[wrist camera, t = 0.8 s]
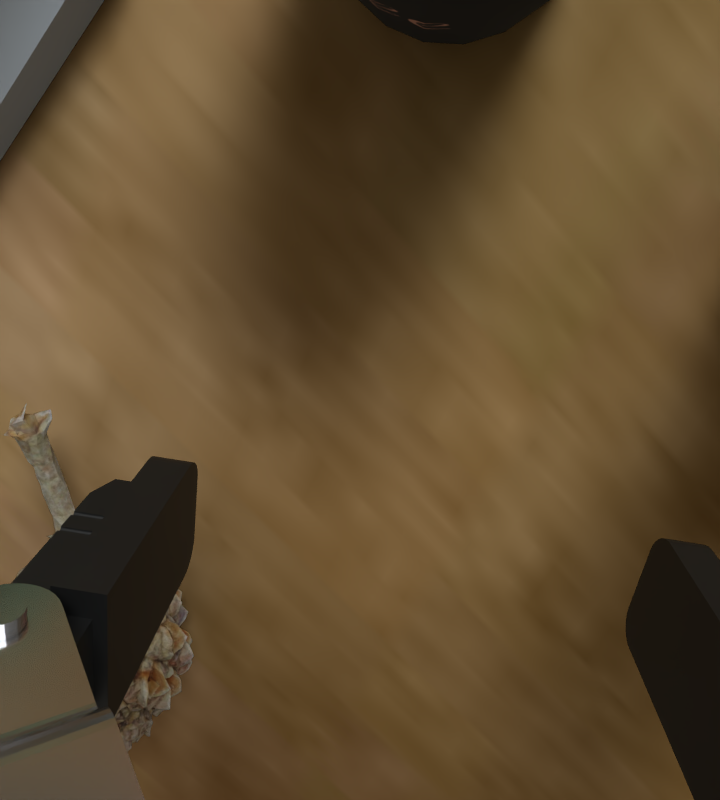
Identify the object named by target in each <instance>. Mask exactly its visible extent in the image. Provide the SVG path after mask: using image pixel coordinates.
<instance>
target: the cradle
mask: <svg viewBox="0 0 720 800" xmlns="http://www.w3.org/2000/svg"><path fill="white" fill-rule="evenodd" d="M103 1H104V0H0V161H1V159H2V157H3V156H4V154H5V153H6V151H7V150H8V148H9V147H10V145H11V144H12V142H13V140H14V139H15V137H16V136H17V134H18V133H19V131H20V130H21V128H22V127H23V125H24V123H25V122H26V120H27V119H28V117H29V116H30V114H31V113H32V111H33V110H34V108H35V106H36V105H37V103H38V102H39V100H40V99H41V97H42V96H43V94H44V93H45V91H46V89H47V88H48V86H49V85H50V83H51V82H52V80H53V79H54V77H55V76H56V74H57V72H58V71H59V69H60V68H61V66H62V65H63V63H64V62H65V60H66V59H67V57H68V55H69V54H70V52H71V51H72V49H73V48H74V46H75V45H76V43H77V42H78V40H79V39H80V37H81V35H82V34H83V32H84V31H85V29H86V28H87V26H88V25H89V23H90V22H91V20H92V18H93V17H94V15H95V14H96V12H97V11H98V9H99V8H100V6H101V5H102V3H103Z"/></svg>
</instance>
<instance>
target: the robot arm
mask: <svg viewBox="0 0 720 800" xmlns="http://www.w3.org/2000/svg"><path fill="white" fill-rule="evenodd" d="M197 476H198V473H197V465H196V463H193V462H187V461H181V460H174V459H168V458H162V457H155V456H152V457H151V458H150V459H149V460H148V461H147V462H146V464H145V465H144V466H143V467H142V469H141V470H140V471H139V472H138V474H137V475H136V476H135V478H134V479H133V480H132V481H131V482H130V481H124V480H117V479H115V480H113V481H111V482H109V483H108V484H106V485H104V486H102V487H100V488H98V489H96V490H94V491H93V492H91V493H89V495H88V496H87V497H86V498H85V499H84V500H83V501H82V503H81V504H80V505H79V506H78V507H77V508H76V509H75V511H74V514H73V515H70V516H69V517H68V519H67V520H66V521H65V522H64V523H63V524H62V526H61V529H60V531H59V530H57V531H56V532H55V534H54V535H53V536H52V537H51V538H50V539H49V540H48V542H47V543H46V544H45V545H44V546H43V547H42V549H41V550H40V551H39V552H38V553H37V554H36V555H35V557H34V558H33V559H32V560H31V561H30V562H29V563H28V565H27V566H26V567H25V568H24V569H23V570H22V572H21V573H20V574H19V575H18V576H17V577H16V578H15V580H14V581H13V582H12V583H11V584H3V585H0V800H145V799H144V797H143V794H142V791H141V788H140V786H139V783H138V780H137V777H136V774H135V772H134V769H133V766H132V763H131V761H130V758H129V755H128V752H127V750H126V747H125V744H124V741H123V739H122V736H121V733H120V730H119V728H118V725H117V722H116V720H115V715H116V713H117V711H118V709H119V707H120V705H121V703H122V701H123V699H124V697H125V695H126V693H127V691H128V689H129V687H130V685H131V683H132V681H133V679H134V677H135V675H136V673H137V671H138V669H139V667H140V665H141V663H142V661H143V659H144V657H145V655H146V653H147V651H148V649H149V647H150V645H151V643H152V640H153V638H154V636H155V634H156V632H157V630H158V628H159V626H160V624H161V622H162V620H163V618H164V616H165V614H166V612H167V610H168V608H169V606H170V604H171V602H172V600H173V598H174V596H175V594H176V592H177V590H178V588H179V586H180V584H181V582H182V580H183V578H184V576H185V574H186V571H187V569H188V566H189V562H190V559H191V555H192V550H193V543H194V531H195V513H196V495H197ZM626 637H627V643H628V646H629V649H630V651H631V653H632V656H633V658H634V660H635V663H636V665H637V667H638V670H639V672H640V674H641V677H642V679H643V681H644V684H645V686H646V688H647V691H648V693H649V695H650V698H651V700H652V702H653V705H654V707H655V709H656V712H657V714H658V716H659V719H660V721H661V723H662V726H663V728H664V730H665V733H666V735H667V737H668V740H669V742H670V744H671V747H672V749H673V751H674V754H675V756H676V758H677V761H678V763H679V765H680V768H681V770H682V772H683V775H684V777H685V779H686V782H687V784H688V786H689V789H690V791H691V793H692V796H693V798H694V800H720V560H719V559H718V558H717V556H716V555H715V554H714V552H713V551H712V550H711V549H710V548H709V547H708V546H706V545H702V544H695V543H689V542H683V541H677V540H670V539H664V538H661V539H658V540H657V541H656V542H655V543H654V544H653V546H652V548H651V550H650V553H649V555H648V558H647V561H646V563H645V566H644V569H643V571H642V574H641V577H640V579H639V582H638V585H637V587H636V590H635V593H634V595H633V598H632V600H631V603H630V606H629V609H628V612H627V618H626Z"/></svg>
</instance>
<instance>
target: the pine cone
mask: <svg viewBox="0 0 720 800" xmlns="http://www.w3.org/2000/svg"><path fill="white" fill-rule="evenodd" d="M25 408H26V405H25V407H24V408H23V410H22V412H21V413H20V414H18V415H17V416H15V417H13V418H11V420H10V425H9V429H8V431H7V432H6V433H5V434H4V435H6V436H12V437H13V438H15V440H16V441H17V443H18V444H19V446H20V448H21V450H22V451H23V453H24V455H25V457H26V459H27V460H28V462H29V463H30V464H31V465H32V466H33V467H34V469H35V473H36V477H37V479H38V481H39V483H40V485H41V489H42V493H43V496H44V498H45V501H46V503H47V505H48V508H49V510H50V512H51V514H52V516H53V519H54V527H55V532H56V531H57V530H59V531H60V529H61V526H62V524H63V523H64V522H65V521H66V520H67V519H68V517H69V516H70V515H73V514H74V511H75V508H74V505H73V503H72V500H71V497H70V493H69V490H68V487H67V484H66V482H65V480H64V477H63V474H62V472H61V469H60V466H59V464H58V461H57V459H56V456H55V453H54V451H53V449H52V447H51V445H50V442H49V439H48V436H47V430H48V427H49V425H50V423H51V420H52V414H51V410H46V411H42V412H38V413H35V414H24V413H25ZM54 534H55V533H54ZM52 536H53V535H50V536H47V537H49V538H51V537H52ZM26 566H27V565H26ZM26 566H25V567H26ZM25 567H24V568H25ZM24 568H22V569H21V570H20V571H19V573H18V574H17V576H18V575H19V574H20V573H21V572H22V570H23V569H24ZM17 576H16V577H17ZM13 581H14V580H13ZM181 596H182V592H181V591H180V590H179V589H178V590H177V592H176V594H175V596H174V598H173V600H172V602H171V604H170V606H169V608H168V610H167V612H166V614H165V616H164V618H163V620H162V622H161V624H160V626H159V628H158V630H157V632H156V634H155V636H154V638H153V640H152V643H151V645H150V647H149V649H148V651H147V653H146V655H145V657H144V659H143V661H142V663H141V665H140V667H139V669H138V671H137V673H136V675H135V677H134V679H133V681H132V683H131V685H130V687H129V689H128V691H127V693H126V695H125V697H124V699H123V701H122V703H121V705H120V707H119V709H118V711H117V713H116V715H115V720H116V722H117V725H118V728H119V730H120V733H121V736H122V739H123V741H124V744H125V747H126V750H127V752H128V751H129V750H130V749H131V746H132V743H134V742H138V740H139V739H140V738H141V736H142V735H143V734H145V735H146V736H150V729H151V726H152V724H153V721H152V714H153V715H154V716H156V717H157V716H158V715H159V714H160V713H161V712H162V711H163V710H170V699H171V697H172V696H174V695H176V694H178V693H180V692H181V679H180V677H179V676H178V675H182V674H183V673H185V672H186V671H188V669H189V668H190V666H191V664H192V660H191V659H192V658H193V657H194V655H193V652H192V650H191V648H190V644H191V643H192V639H191V636H190V634H189V633H188V632H187V631H185V630H183V629H182V628H180V626H181V624H182V623H183V622H184V620H185V619H186V616H187V614H188V611H187V610H186V609H185V608H184V607H183V605H182V602H181Z"/></svg>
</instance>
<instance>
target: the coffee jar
mask: <svg viewBox="0 0 720 800" xmlns="http://www.w3.org/2000/svg"><path fill="white" fill-rule="evenodd" d="M359 1H360V2H361V3H362V4H363V5H364V6H365V7H367V8H368V9H369V10H370V11H371V12H372V13H373V14H374V15H375V16H376V17H377V18H378V19H379V20H381V21H382V22H383V23H384V24H385V25H386V26H388V27H390V28H393V29H395V30H397V31H399V32H402V33H404V34H406V35H409V36H411V37H413V38H416V39H418V40H420V41H422V42H434V43H452V44H466V43H469V42H473V41H476V40H479V39H483V38H486V37H489V36H492V35H496V34H499V33H502V32H505V31H506V30H508V29H509V28H511V27H512V26H514V25H515V24H516V23H518V22H519V21H521V20H522V19H524V18H525V17H527V16H528V15H529V14H531V13H532V12H534V11H535V10H537V9H538V8H539V7H541V6H542V5H544V4H545V3H546V2H548V1H549V0H359Z"/></svg>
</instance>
